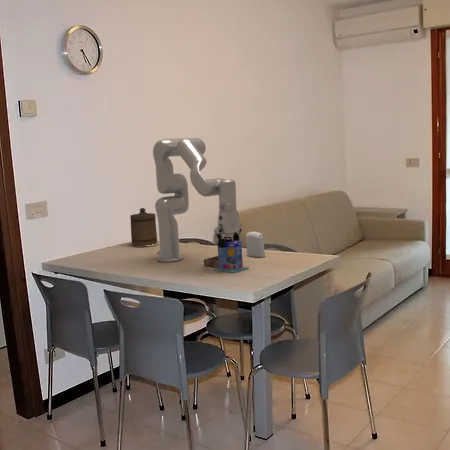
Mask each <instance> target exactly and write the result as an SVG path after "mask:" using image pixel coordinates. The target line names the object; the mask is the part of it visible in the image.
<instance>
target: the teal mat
mask: <svg viewBox="0 0 450 450" xmlns="http://www.w3.org/2000/svg"><path fill="white" fill-rule="evenodd" d="M246 270H249V266H248V267H247V266H243V268H241V269H238V270H231V269H219V268H216V267H214V268H213V271H217V272H223V273H231V274H235V273H239V272H243V271H246Z"/></svg>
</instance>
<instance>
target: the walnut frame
mask: <svg viewBox="0 0 450 450" xmlns="http://www.w3.org/2000/svg"><path fill="white" fill-rule="evenodd" d="M203 266H204V267H210V268H219V262H218V255H216V256H212V257H208V258H204V259H203Z"/></svg>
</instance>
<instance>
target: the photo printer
mask: <svg viewBox="0 0 450 450" xmlns="http://www.w3.org/2000/svg"><path fill="white" fill-rule="evenodd" d="M264 237H265V236H264V234H262V233H261V232H259V231H251V232H250V231H249V232H247V234H246V236H245V241H246V244H245V245H246V255H247V256H248V257H255V258H259V257H261V258H264V257H265V253H266V252H265V238H264Z"/></svg>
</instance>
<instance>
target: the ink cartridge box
mask: <svg viewBox="0 0 450 450" xmlns="http://www.w3.org/2000/svg"><path fill="white" fill-rule="evenodd" d="M223 239H225V248H219V243H218V241H217V243H216V245H217V256H218V262H219V269H231V270H238V269H241V268H243V267H244V265H243V263H244V261H243V247H242V246H243V245H242V241H241V240H239V241H233V237H231V236H224V238H223Z"/></svg>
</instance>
